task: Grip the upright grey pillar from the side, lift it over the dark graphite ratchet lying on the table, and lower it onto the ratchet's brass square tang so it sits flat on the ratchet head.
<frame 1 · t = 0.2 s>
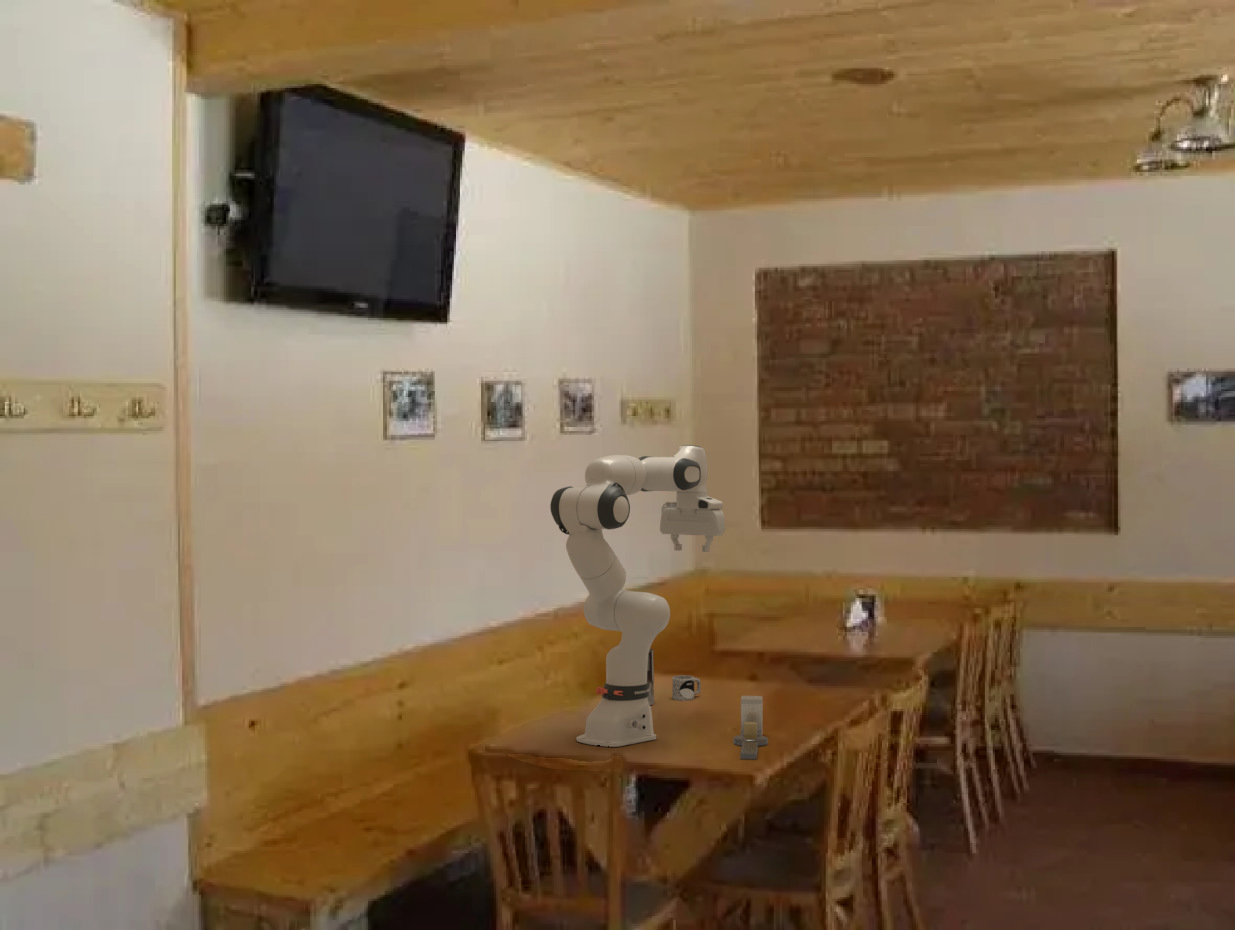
hand: (691, 551, 432), 48 cm above the table, tool pointing down, fingers open, 8 cm apart
mug: (687, 698, 465), on the table
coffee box: (638, 704, 456), on the table
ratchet: (750, 743, 399), on the table
upright grey pillar: (751, 735, 409), on the table
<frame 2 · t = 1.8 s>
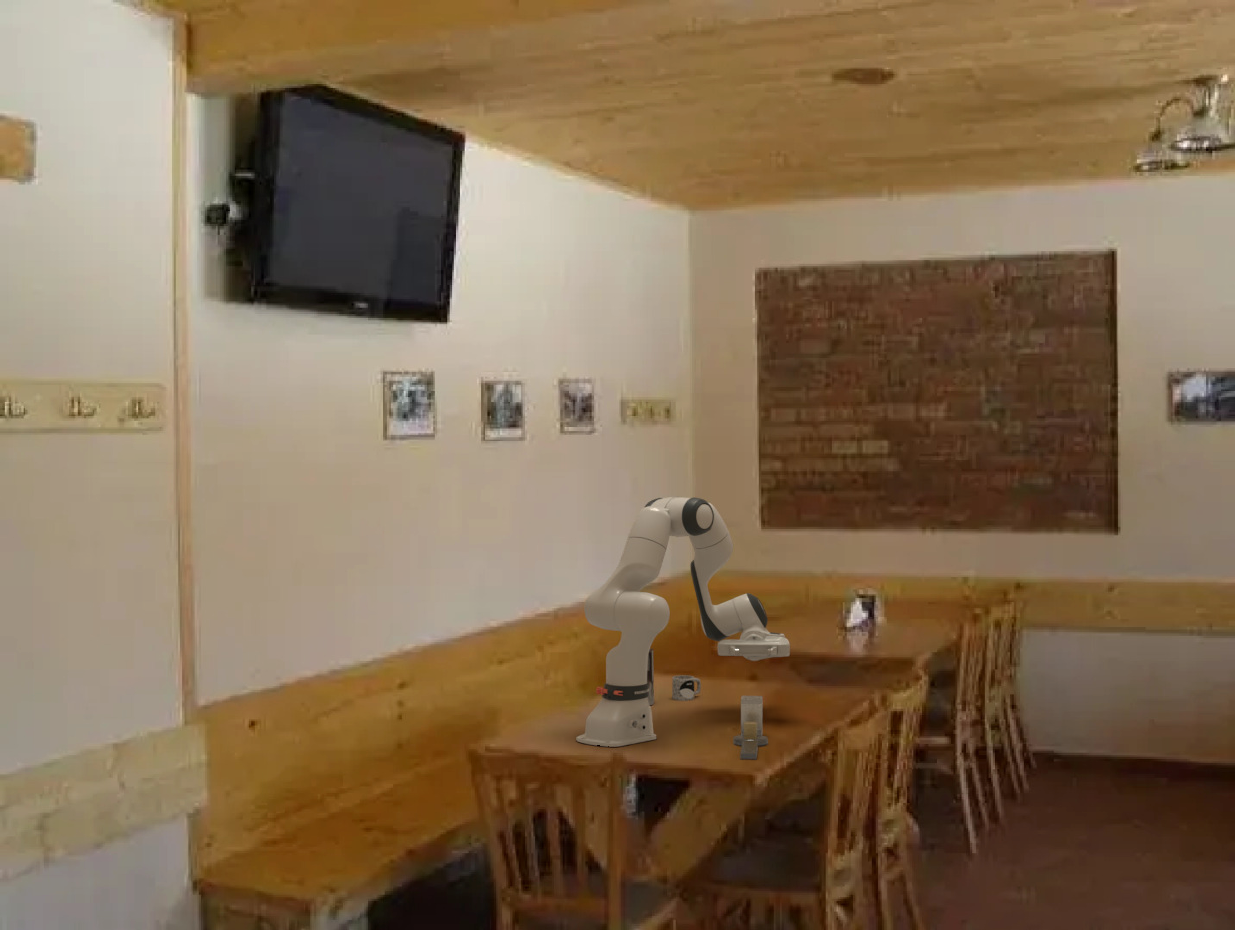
hand: (753, 652, 421), 20 cm above the table, tool horizontal, fingers open, 8 cm apart
nothing on the table moved.
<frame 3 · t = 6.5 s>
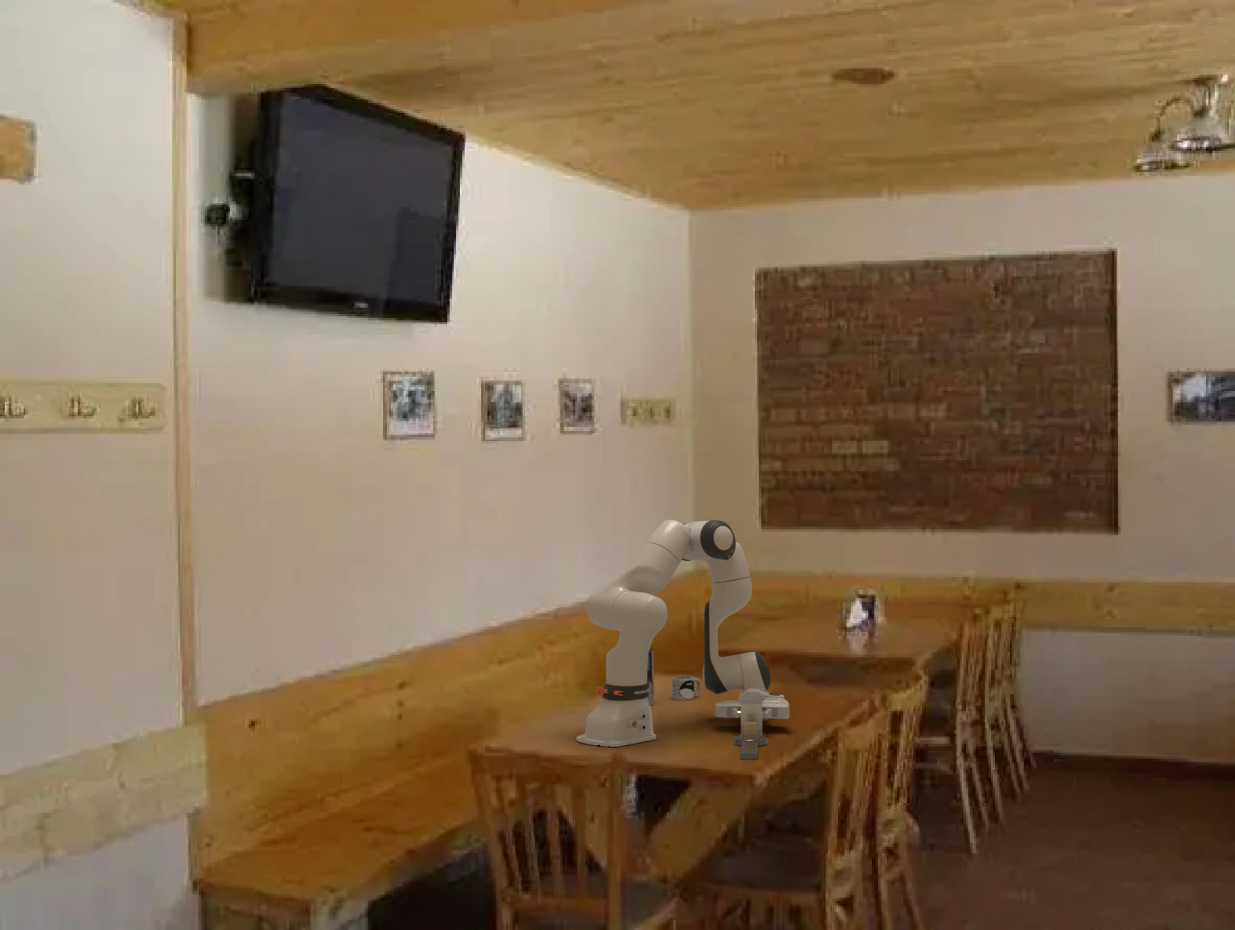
hand: (751, 715, 408), 6 cm above the table, tool horizontal, fingers closed on upright grey pillar, 6 cm apart
upright grey pillar: (751, 735, 409), on the table, touching gripper
everything else where it was.
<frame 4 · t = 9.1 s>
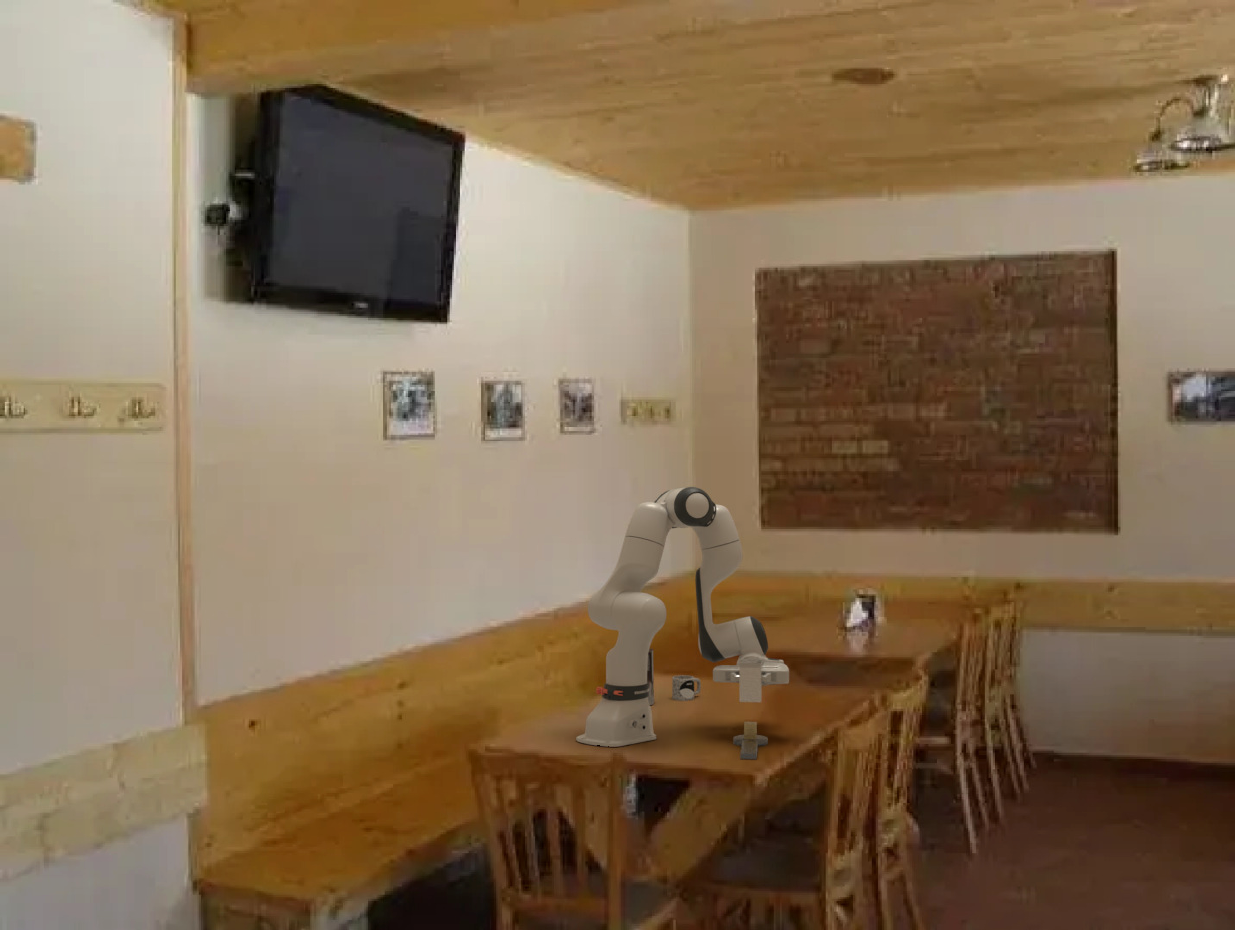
hand: (750, 679, 398), 17 cm above the table, tool horizontal, fingers closed on upright grey pillar, 6 cm apart
upright grey pillar: (750, 700, 399), point 11 cm above the table, touching gripper
everything else where it was.
when the fingers open (8 cm above the table, at t = 11.7 s): upright grey pillar drops 1 cm, point 1 cm above the table.
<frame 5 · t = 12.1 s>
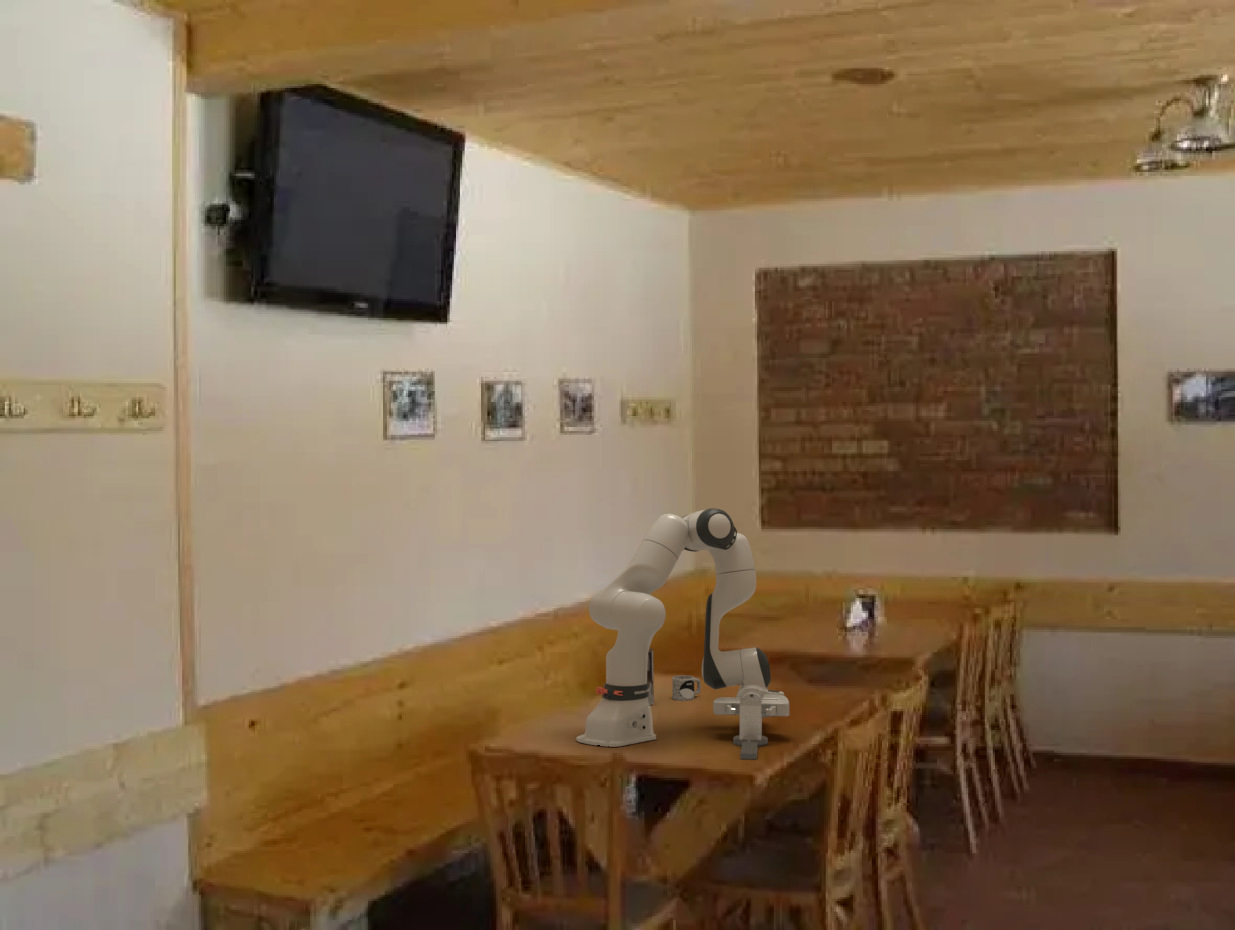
hand: (750, 712, 398), 8 cm above the table, tool horizontal, fingers open, 8 cm apart
upright grey pillar: (750, 737, 399), point 1 cm above the table
everything else where it was.
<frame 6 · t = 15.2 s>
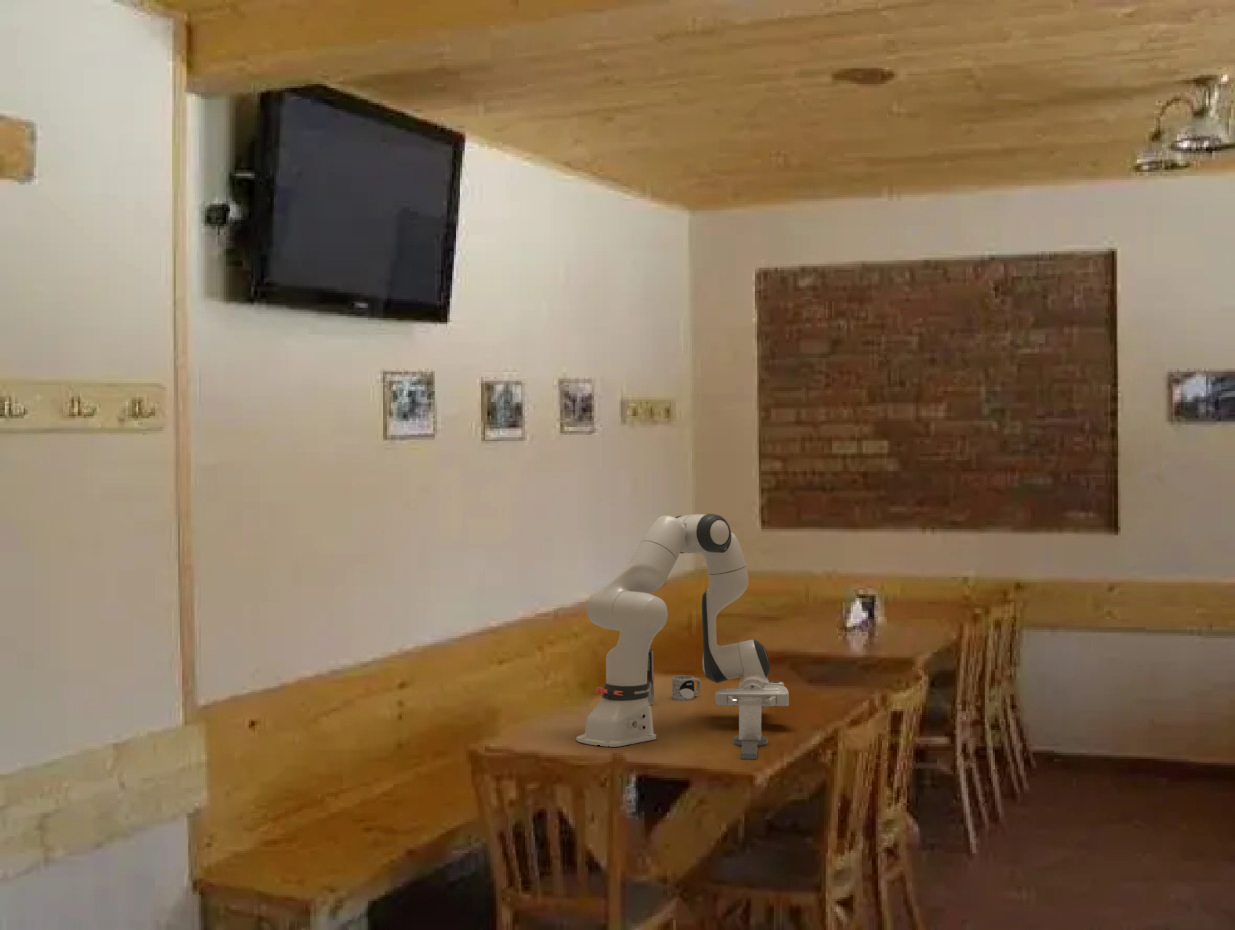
hand: (751, 703, 411), 8 cm above the table, tool horizontal, fingers open, 8 cm apart
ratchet: (750, 743, 399), on the table, touching upright grey pillar
upright grey pillar: (750, 737, 399), point 1 cm above the table, touching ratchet
everything else where it was.
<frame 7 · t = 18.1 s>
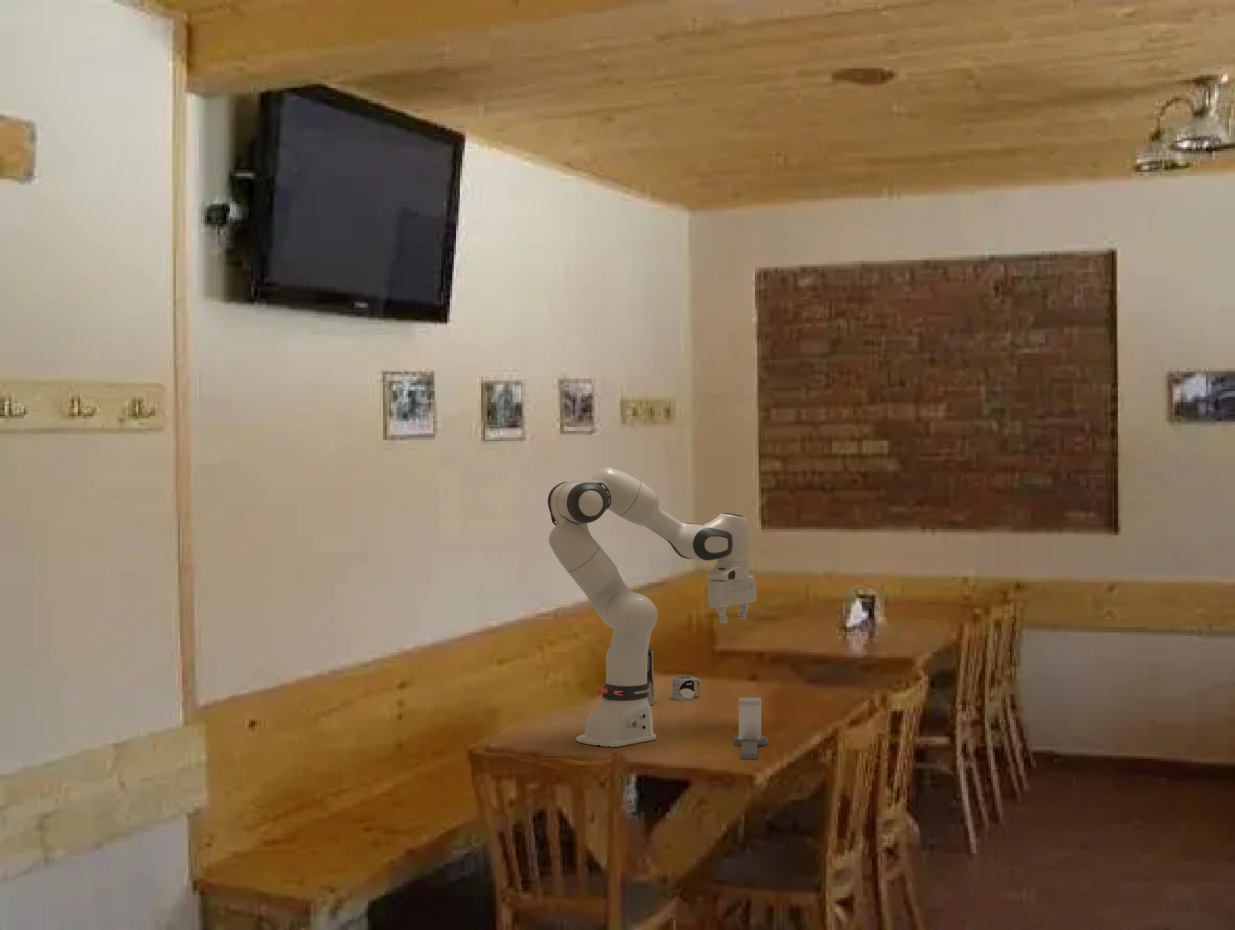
hand: (732, 621, 421), 29 cm above the table, tool pointing down, fingers open, 8 cm apart
nothing on the table moved.
at the end: upright grey pillar 0.1 cm off-centre on the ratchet, point 1.5 cm above the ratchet's base; upright grey pillar tilted 0°; the gripper is holding nothing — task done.
